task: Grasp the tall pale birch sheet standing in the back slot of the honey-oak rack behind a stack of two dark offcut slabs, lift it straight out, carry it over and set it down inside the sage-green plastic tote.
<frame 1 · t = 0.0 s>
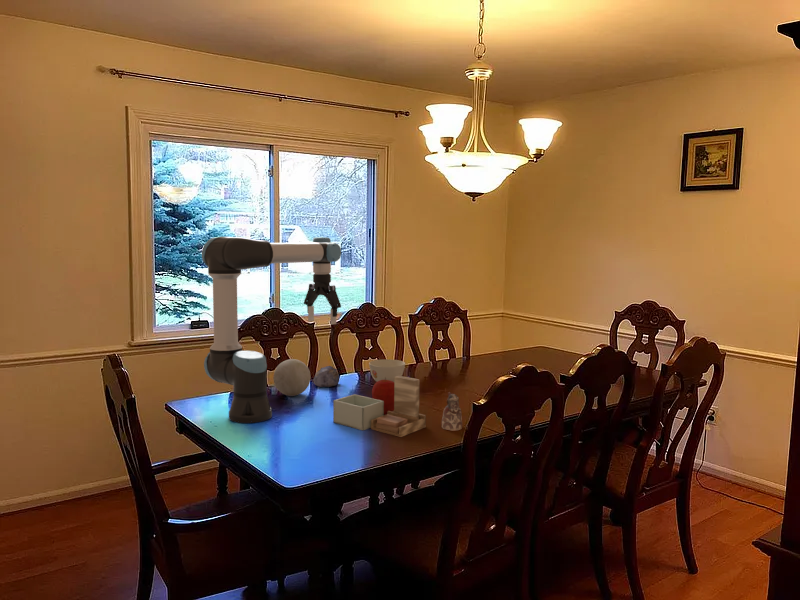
hand: (322, 322, 268), 28 cm above the table, fingers open, 13 cm apart
red ovoid: (385, 413, 232), on the table
tote: (358, 422, 220), on the table
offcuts: (393, 427, 212), resting on oak rack
birch sheet: (406, 422, 218), point 1 cm above the table, touching oak rack
bowl: (386, 385, 274), on the table
decorative sphere: (292, 395, 255), on the table
figurine: (451, 427, 216), on the table
oak rack: (398, 428, 214), on the table
rock: (325, 385, 273), on the table
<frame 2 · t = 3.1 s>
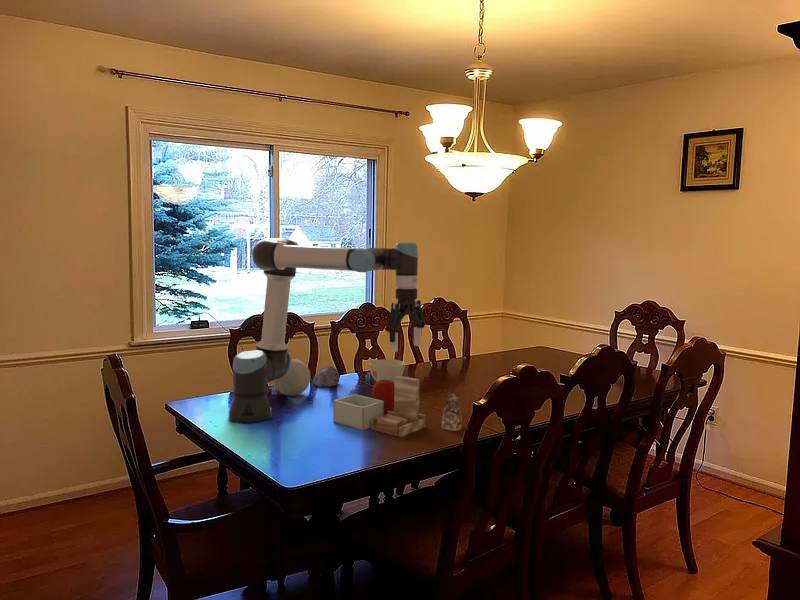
hand: (405, 348, 216), 27 cm above the table, fingers open, 13 cm apart
nothing on the table moved.
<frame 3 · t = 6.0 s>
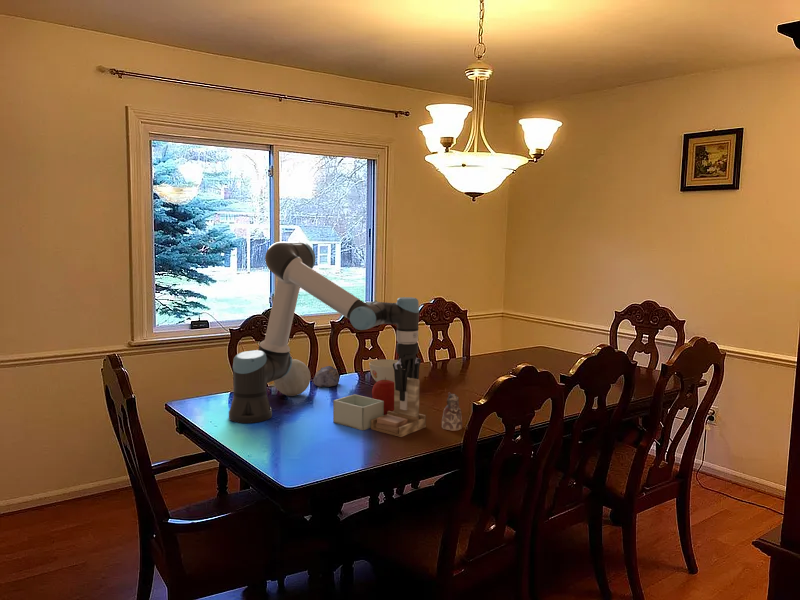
hand: (406, 408, 217), 6 cm above the table, fingers closed on birch sheet, 2 cm apart
birch sheet: (406, 422, 218), point 1 cm above the table, touching gripper, oak rack
everything else where it was.
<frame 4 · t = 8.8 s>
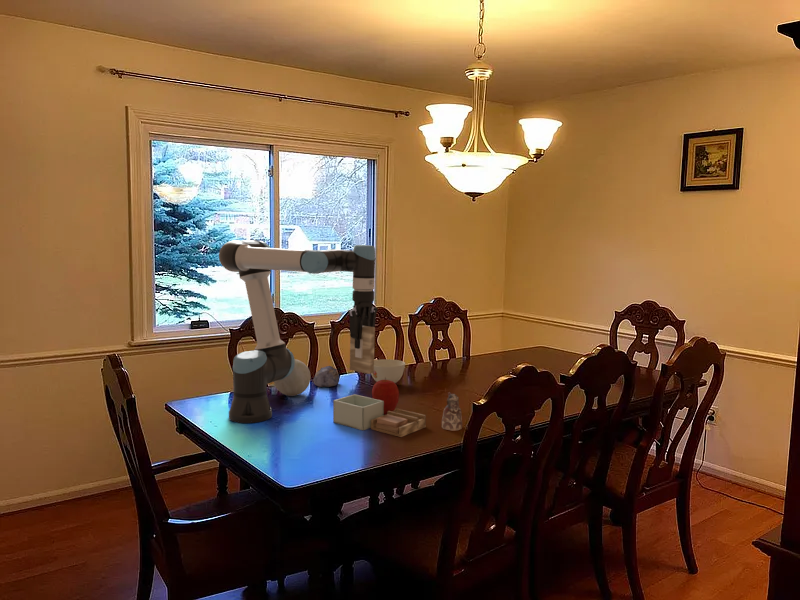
hand: (361, 356, 217), 24 cm above the table, fingers closed on birch sheet, 2 cm apart
birch sheet: (361, 371, 218), point 19 cm above the table, touching gripper
everything else where it was.
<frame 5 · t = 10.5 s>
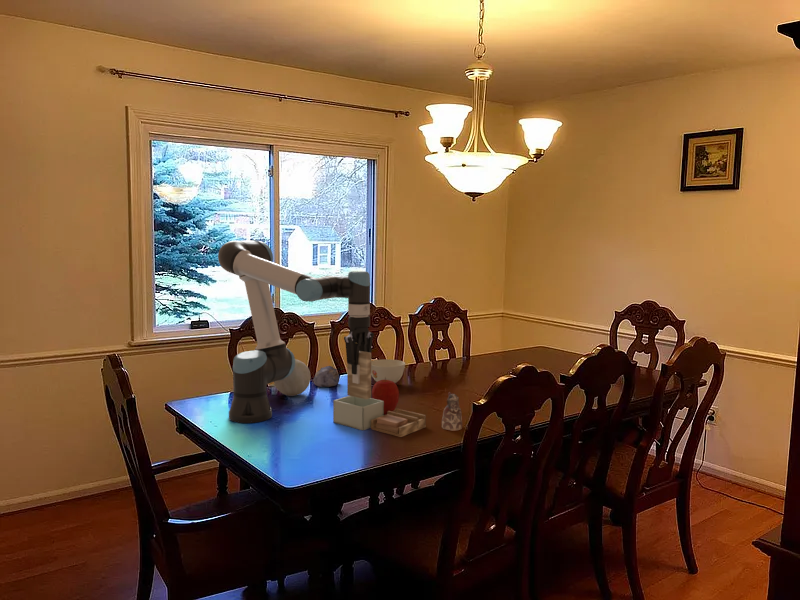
hand: (359, 382, 218), 15 cm above the table, fingers closed on birch sheet, 2 cm apart
birch sheet: (359, 396, 219), point 10 cm above the table, touching gripper
everything else where it was.
when the fingers open (8 cm above the table, at t = 11.8 s): birch sheet drops 2 cm, resting on tote.
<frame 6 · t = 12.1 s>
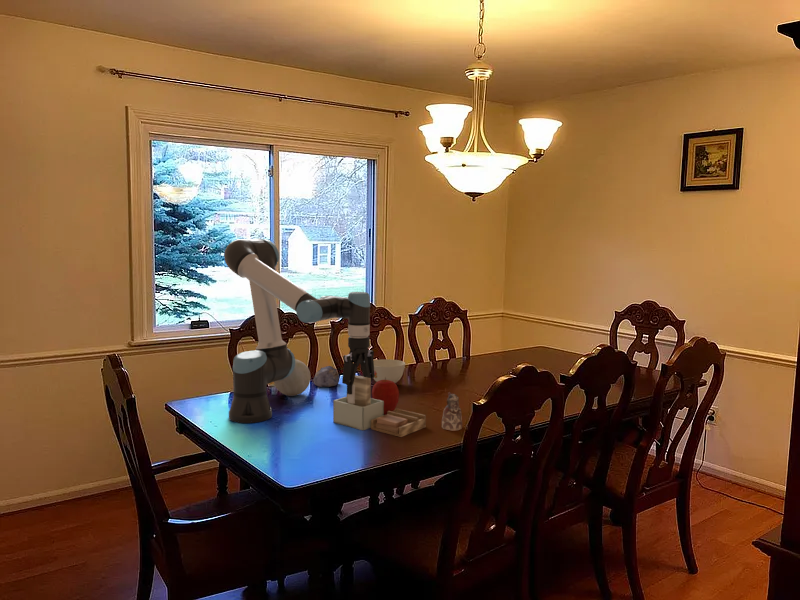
hand: (358, 400, 219), 8 cm above the table, fingers open, 7 cm apart
birch sheet: (358, 421, 220), point 1 cm above the table, touching tote
everything else where it was.
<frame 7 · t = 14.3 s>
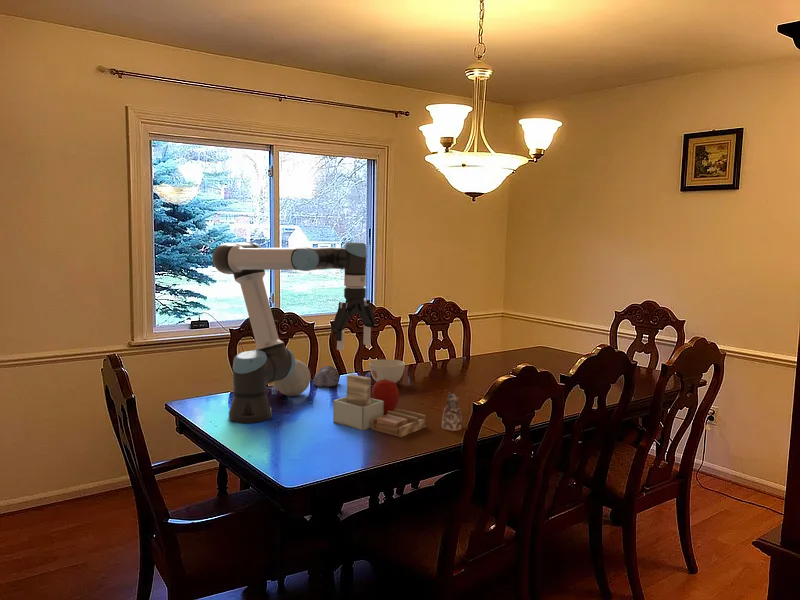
hand: (353, 347, 218), 27 cm above the table, fingers open, 13 cm apart
nothing on the table moved.
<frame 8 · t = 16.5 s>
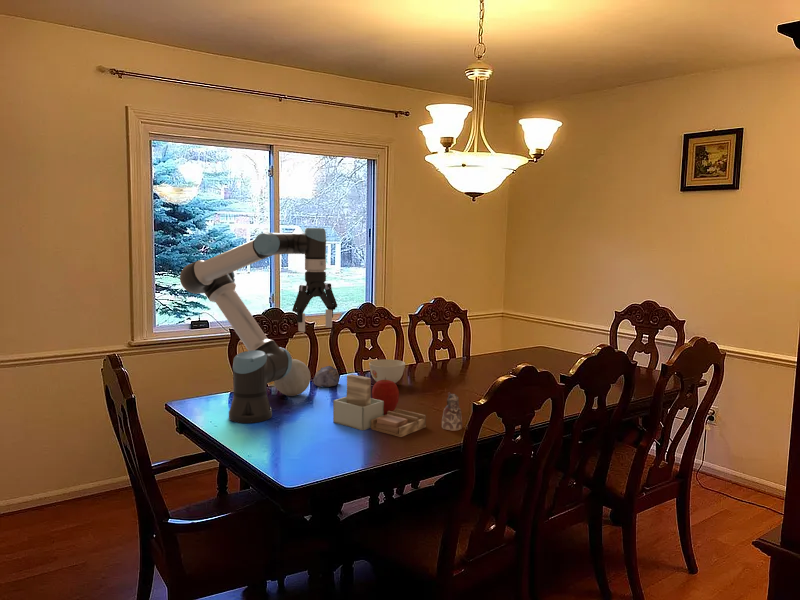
hand: (315, 329, 226), 32 cm above the table, fingers open, 13 cm apart
nothing on the table moved.
at the end: birch sheet inside the target area on the tote (0.0 cm from its centre), point 0.6 cm above the tote's base; the gripper is holding nothing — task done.
